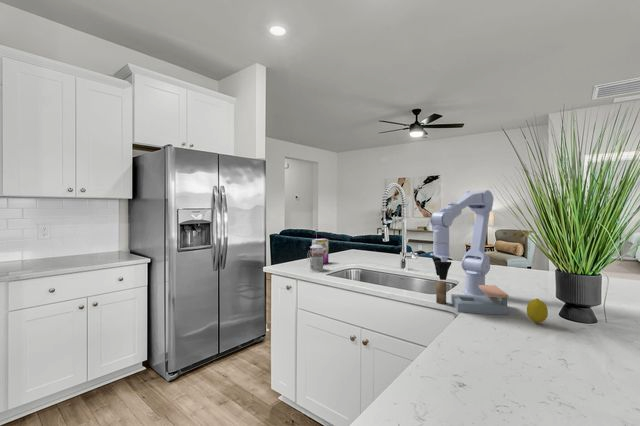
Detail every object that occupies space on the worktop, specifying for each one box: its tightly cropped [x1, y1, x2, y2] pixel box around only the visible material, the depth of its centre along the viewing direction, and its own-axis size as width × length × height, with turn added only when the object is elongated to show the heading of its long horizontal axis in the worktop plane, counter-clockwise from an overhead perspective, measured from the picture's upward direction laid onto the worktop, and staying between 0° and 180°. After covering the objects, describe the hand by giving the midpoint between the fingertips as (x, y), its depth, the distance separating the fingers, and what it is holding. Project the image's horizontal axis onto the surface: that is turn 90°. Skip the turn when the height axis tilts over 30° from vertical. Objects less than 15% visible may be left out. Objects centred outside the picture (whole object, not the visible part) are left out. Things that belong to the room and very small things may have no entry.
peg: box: [435, 280, 447, 305], centre depth 121 cm, size 4×4×8 cm
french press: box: [306, 228, 326, 273], centre depth 186 cm, size 10×12×25 cm
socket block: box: [450, 284, 509, 316], centre depth 114 cm, size 13×16×7 cm
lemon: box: [526, 297, 549, 325], centre depth 98 cm, size 6×6×8 cm
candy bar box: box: [311, 238, 330, 264], centre depth 208 cm, size 11×5×16 cm, turn 130°
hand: (441, 277), depth 120 cm, fingers open, 7 cm apart
